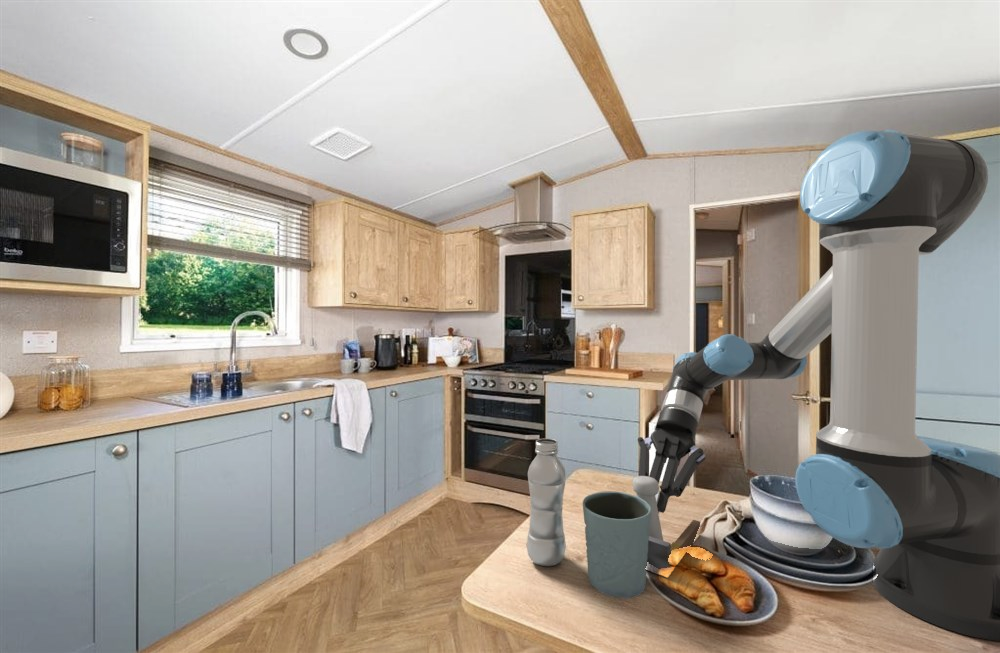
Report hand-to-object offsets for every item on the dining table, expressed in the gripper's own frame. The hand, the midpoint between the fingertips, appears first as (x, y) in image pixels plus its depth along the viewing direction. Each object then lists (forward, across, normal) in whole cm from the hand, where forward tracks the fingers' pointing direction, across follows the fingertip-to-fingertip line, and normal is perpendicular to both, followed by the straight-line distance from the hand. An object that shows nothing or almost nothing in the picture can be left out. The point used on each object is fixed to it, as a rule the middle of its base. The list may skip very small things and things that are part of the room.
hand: (647, 526), depth 75 cm
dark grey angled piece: (+1, 0, -4) cm, 4 cm away
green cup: (+12, 0, +7) cm, 14 cm away
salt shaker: (+5, -1, -1) cm, 5 cm away
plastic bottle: (+14, +11, +8) cm, 20 cm away
